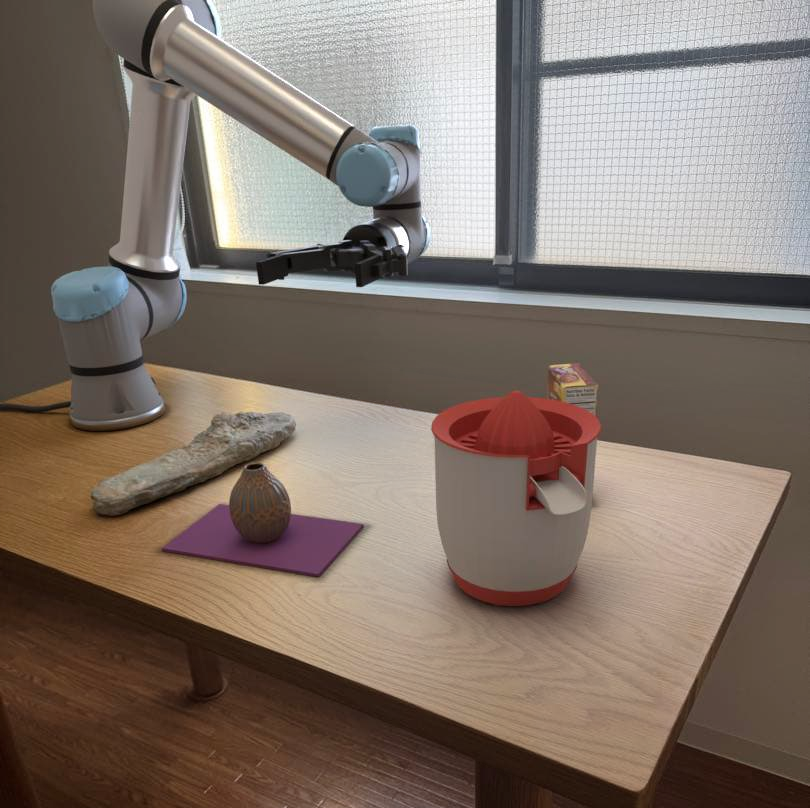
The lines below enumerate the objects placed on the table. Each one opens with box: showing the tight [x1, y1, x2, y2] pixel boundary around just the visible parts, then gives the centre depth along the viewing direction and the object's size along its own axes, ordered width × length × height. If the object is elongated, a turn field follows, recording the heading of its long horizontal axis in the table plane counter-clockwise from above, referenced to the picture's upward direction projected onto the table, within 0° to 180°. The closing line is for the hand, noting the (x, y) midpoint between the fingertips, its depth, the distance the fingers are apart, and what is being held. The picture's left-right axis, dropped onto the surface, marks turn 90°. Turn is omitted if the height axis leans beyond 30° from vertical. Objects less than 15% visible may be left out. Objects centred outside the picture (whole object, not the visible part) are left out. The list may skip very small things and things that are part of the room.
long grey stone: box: [90, 411, 297, 517], centre depth 107 cm, size 35×5×10 cm
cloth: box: [161, 503, 365, 578], centre depth 89 cm, size 20×12×1 cm, turn 69°
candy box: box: [547, 363, 599, 417], centre depth 93 cm, size 9×4×15 cm, turn 2°
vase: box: [228, 461, 292, 544], centre depth 87 cm, size 7×7×9 cm
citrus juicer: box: [430, 390, 602, 607], centre depth 74 cm, size 16×17×20 cm
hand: (307, 274), depth 94 cm, fingers open, 13 cm apart
